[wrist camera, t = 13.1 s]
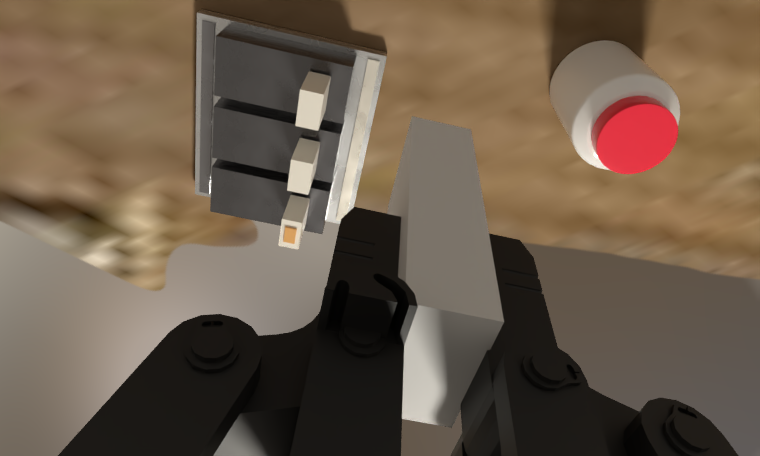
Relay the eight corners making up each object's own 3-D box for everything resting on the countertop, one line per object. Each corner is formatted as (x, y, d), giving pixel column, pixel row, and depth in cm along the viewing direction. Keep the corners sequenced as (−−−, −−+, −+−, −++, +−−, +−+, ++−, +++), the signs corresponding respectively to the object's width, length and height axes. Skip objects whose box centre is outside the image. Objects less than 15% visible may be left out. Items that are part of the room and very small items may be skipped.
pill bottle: (533, 74, 46) (561, 128, 37) (619, 20, 43) (672, 64, 34) (572, 141, 50) (606, 204, 41) (655, 95, 47) (711, 152, 38)
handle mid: (299, 137, 46) (290, 159, 43) (320, 142, 46) (313, 164, 43) (295, 167, 48) (286, 190, 45) (315, 171, 48) (308, 194, 45)
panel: (201, 9, 45) (183, 21, 41) (387, 52, 46) (385, 68, 43) (199, 187, 55) (184, 210, 52) (350, 219, 56) (346, 243, 53)
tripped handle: (290, 194, 50) (281, 220, 46) (309, 198, 50) (301, 224, 46) (287, 220, 51) (278, 246, 48) (305, 224, 51) (297, 250, 48)
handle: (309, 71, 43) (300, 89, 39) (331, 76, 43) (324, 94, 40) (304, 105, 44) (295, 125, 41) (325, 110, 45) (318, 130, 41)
